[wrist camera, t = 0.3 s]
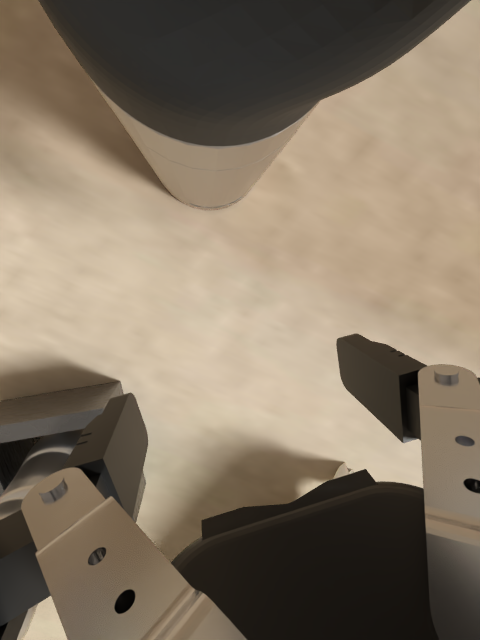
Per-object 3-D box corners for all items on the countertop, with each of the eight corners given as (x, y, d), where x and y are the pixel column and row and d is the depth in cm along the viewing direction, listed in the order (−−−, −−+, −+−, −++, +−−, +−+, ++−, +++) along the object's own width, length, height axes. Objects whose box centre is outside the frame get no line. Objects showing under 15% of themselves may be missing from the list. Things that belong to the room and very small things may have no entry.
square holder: (1, 400, 28) (-41, 432, 23) (120, 381, 29) (103, 408, 24) (39, 503, 31) (8, 550, 26) (145, 483, 32) (135, 525, 27)
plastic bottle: (121, 463, 31) (-17, 817, 12) (54, 478, 31) (-200, 870, 11) (102, 409, 30) (-92, 716, 10) (32, 424, 29) (-309, 775, 10)
